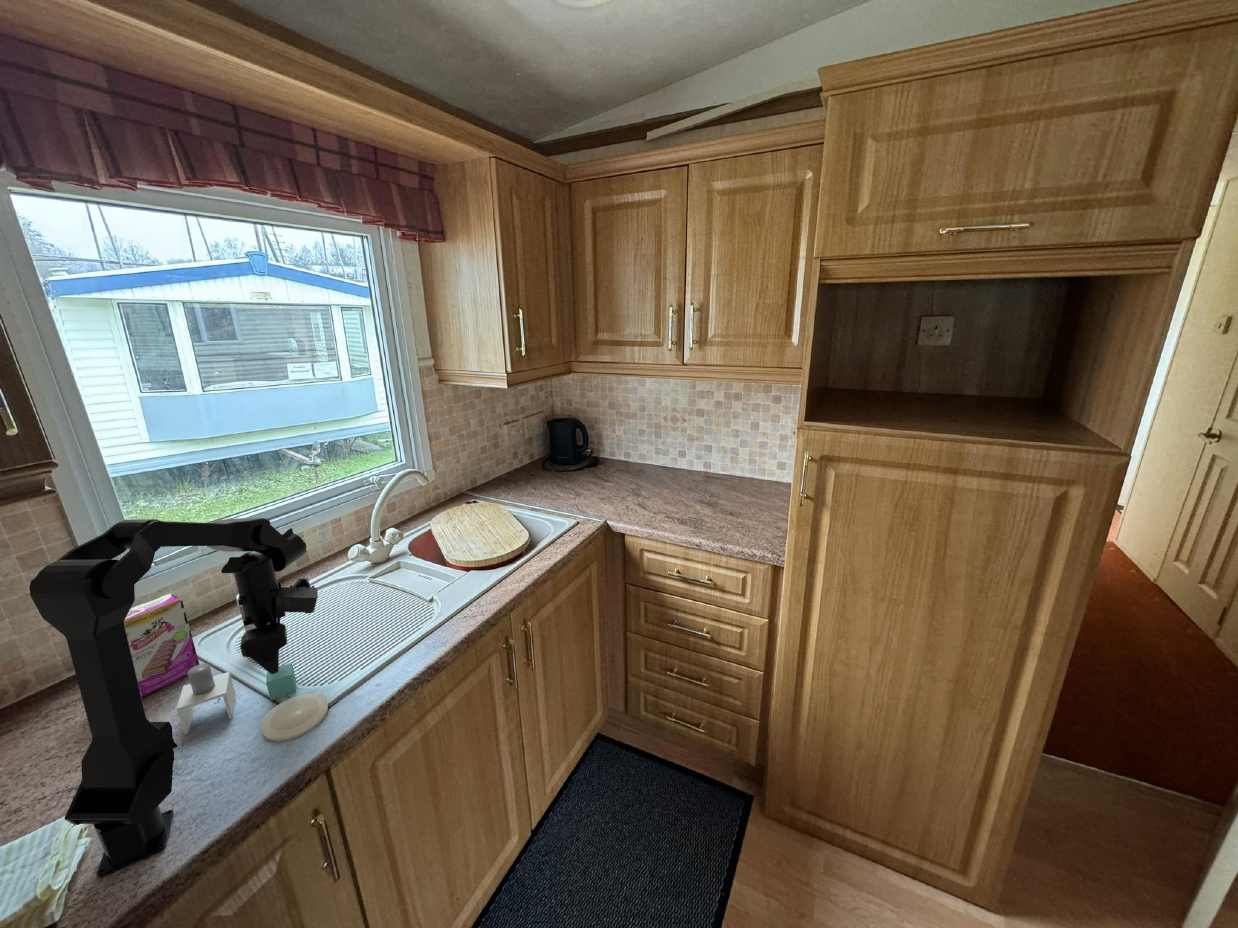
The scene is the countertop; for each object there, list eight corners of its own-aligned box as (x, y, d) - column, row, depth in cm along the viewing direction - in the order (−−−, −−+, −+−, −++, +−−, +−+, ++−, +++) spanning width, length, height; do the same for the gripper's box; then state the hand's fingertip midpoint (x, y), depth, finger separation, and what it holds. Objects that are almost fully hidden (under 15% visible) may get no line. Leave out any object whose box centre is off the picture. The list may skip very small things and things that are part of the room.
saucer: (330, 724, 84) (329, 718, 84) (260, 751, 79) (258, 745, 79) (327, 690, 92) (325, 685, 92) (263, 712, 87) (261, 707, 87)
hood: (232, 717, 86) (220, 672, 84) (184, 734, 83) (169, 687, 80) (236, 695, 92) (224, 652, 89) (190, 709, 88) (177, 665, 86)
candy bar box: (131, 705, 89) (105, 628, 85) (119, 697, 92) (92, 621, 87) (203, 668, 99) (182, 597, 95) (190, 661, 101) (169, 591, 97)
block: (296, 691, 92) (292, 674, 91) (270, 700, 90) (266, 682, 89) (295, 679, 96) (291, 662, 94) (271, 687, 93) (267, 670, 92)
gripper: (312, 593, 83) (327, 670, 87) (308, 553, 98) (322, 621, 103) (230, 614, 77) (252, 695, 82) (240, 568, 93) (258, 639, 97)
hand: (275, 658), depth 91 cm, fingers open, 9 cm apart
